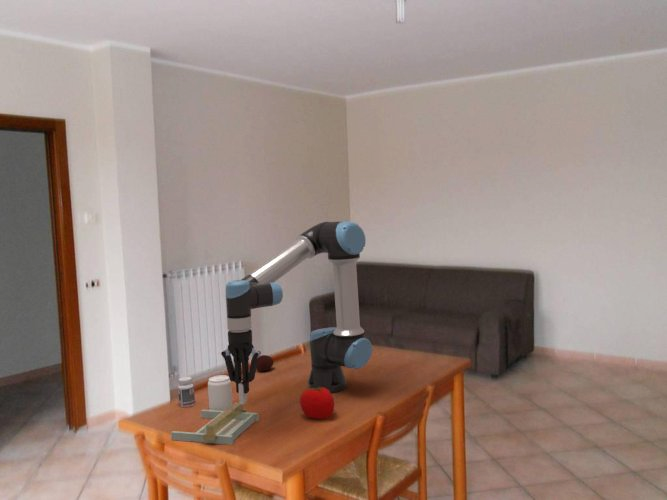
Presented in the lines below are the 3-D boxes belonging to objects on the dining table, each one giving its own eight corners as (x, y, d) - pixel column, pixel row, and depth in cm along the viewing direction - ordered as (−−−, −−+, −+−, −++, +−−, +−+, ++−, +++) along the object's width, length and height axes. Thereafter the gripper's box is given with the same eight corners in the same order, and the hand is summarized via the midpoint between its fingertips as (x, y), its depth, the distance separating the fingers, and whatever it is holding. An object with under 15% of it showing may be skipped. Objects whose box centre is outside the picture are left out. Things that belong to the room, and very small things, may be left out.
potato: (277, 368, 258) (276, 353, 257) (265, 374, 251) (264, 358, 250) (264, 367, 262) (263, 351, 261) (252, 372, 254) (251, 356, 254)
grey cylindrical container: (211, 408, 212) (209, 375, 211) (233, 406, 212) (231, 374, 211) (208, 416, 204) (206, 382, 203) (231, 414, 204) (229, 380, 203)
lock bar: (246, 414, 200) (245, 401, 200) (215, 441, 179) (214, 427, 178) (235, 413, 201) (235, 401, 201) (203, 440, 180) (202, 426, 179)
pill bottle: (198, 402, 218) (196, 376, 217) (189, 408, 213) (187, 381, 212) (184, 401, 220) (182, 375, 219) (176, 406, 215) (174, 380, 214)
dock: (258, 420, 198) (258, 413, 197) (232, 444, 178) (231, 436, 178) (202, 416, 204) (202, 409, 203) (171, 440, 184) (170, 432, 184)
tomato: (325, 425, 191) (323, 394, 190) (293, 418, 198) (292, 389, 197) (343, 413, 200) (341, 384, 199) (312, 408, 207) (310, 379, 206)
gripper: (263, 327, 187) (266, 400, 189) (226, 326, 191) (230, 397, 192) (253, 332, 180) (257, 408, 182) (215, 331, 183) (219, 405, 185)
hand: (243, 402), depth 187 cm, fingers closed
